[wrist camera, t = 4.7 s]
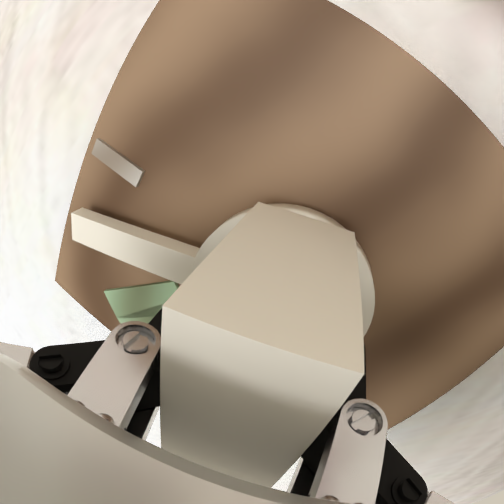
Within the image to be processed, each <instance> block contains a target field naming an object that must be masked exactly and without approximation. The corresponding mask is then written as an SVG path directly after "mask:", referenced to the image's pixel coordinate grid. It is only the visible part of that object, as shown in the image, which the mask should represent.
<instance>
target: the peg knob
mask: <svg viewBox="0 0 504 504" xmlns="http://www.w3.org/2000/svg"><path fill="white" fill-rule="evenodd" d="M71 224H72V240H74V241H76V242H79V243H81V244H83V245H86V246H88V247H90V248H93V249H95V250H97V251H100V252H102V253H104V254H107V255H109V256H111V257H114V258H116V259H119V260H121V261H123V262H126V263H128V264H131V265H133V266H136V267H138V268H141V269H143V270H146V271H148V272H151V273H153V274H156V275H158V276H161V277H163V278H166V279H168V280H171V281H174V282H176V283H179V284H181V285H180V287H179V288H178V289H177V290H176V291H175V292H174V293H173V294H172V295H171V297H170V298H169V299H168V300H167V301H166V302H165V303H164V304H163V306H162V325H161V353H160V425H161V449H163V450H166V451H168V452H170V453H172V454H174V455H177V456H179V457H181V458H184V459H186V460H189V461H191V462H194V463H196V464H199V465H201V466H204V467H206V468H209V469H212V470H214V471H217V472H220V473H223V474H226V475H229V476H232V477H235V478H238V479H241V480H244V481H247V482H251V483H254V484H258V485H261V486H265V487H269V488H271V487H272V486H273V485H274V484H275V483H276V482H277V481H278V480H279V479H280V478H281V477H282V476H283V475H284V474H285V473H286V471H287V470H288V469H289V468H290V467H291V466H292V465H293V464H294V463H295V462H296V461H297V459H298V458H299V457H300V456H301V455H302V454H303V453H304V452H305V450H306V449H307V448H308V447H309V446H310V445H311V443H312V442H313V441H314V440H315V439H316V437H317V436H318V435H319V434H320V433H321V431H322V430H323V429H324V428H325V426H326V425H327V424H328V423H329V421H330V420H331V419H332V418H333V416H334V415H335V414H336V412H337V411H338V410H339V409H340V407H341V406H342V405H343V403H344V402H345V400H346V399H347V398H348V396H349V395H350V394H351V392H352V391H353V389H354V388H355V387H356V385H357V384H358V382H359V381H360V380H361V378H362V377H363V375H364V338H363V337H364V336H365V334H366V333H367V330H368V328H369V326H370V324H371V321H372V318H373V314H374V307H375V290H374V284H373V278H372V273H371V268H370V265H369V262H368V260H367V257H366V255H365V253H364V251H363V249H362V248H361V246H360V244H359V243H358V242H357V241H356V239H355V232H352V231H349V230H346V229H345V228H344V227H343V226H342V225H341V224H339V223H338V222H337V221H335V220H334V219H332V218H330V217H329V216H327V215H325V214H323V213H321V212H318V211H316V210H313V209H311V208H308V207H304V206H299V205H294V204H285V203H276V204H264V203H261V202H258V203H257V204H256V205H255V206H254V207H252V208H249V209H246V210H244V211H241V212H239V213H237V214H235V215H234V216H232V217H231V218H229V219H228V220H226V221H225V222H224V223H223V224H222V225H221V226H220V227H218V228H217V229H216V230H215V231H214V232H213V233H212V234H211V235H210V236H209V237H208V238H207V239H206V241H205V242H204V243H203V244H202V246H201V247H200V248H198V247H195V246H192V245H189V244H186V243H183V242H181V241H178V240H175V239H172V238H169V237H166V236H163V235H160V234H157V233H154V232H151V231H148V230H145V229H143V228H140V227H137V226H134V225H131V224H128V223H125V222H122V221H119V220H117V219H114V218H111V217H108V216H105V215H102V214H99V213H97V212H94V211H91V210H88V209H85V208H80V209H78V210H76V211H74V212H72V213H71Z"/></svg>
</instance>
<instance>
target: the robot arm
mask: <svg viewBox="0 0 504 504" xmlns="http://www.w3.org/2000/svg"><path fill="white" fill-rule="evenodd" d="M161 325H162V308H161V310H160V311H159V312H158V313H157V314H156V315H155V316H154V317H153V319H152V320H151V321H150V322H149V323H148V324H147V323H145V322H140V321H128V322H124V323H122V324H120V325H118V326H116V327H115V328H114V329H113V330H112V332H111V333H110V334H109V336H108V337H107V339H106V340H103V341H94V342H85V343H75V344H65V345H54V346H47V347H43V348H41V349H39V350H38V351H37V352H34V351H33V348H30V347H24V346H18V345H12V344H7V343H2V342H0V504H454V503H453V502H451V501H449V500H448V499H446V498H444V497H443V496H441V495H439V494H438V493H436V492H434V491H432V492H430V493H429V492H428V491H427V486H426V483H425V481H424V480H423V479H422V477H421V476H420V475H419V474H418V473H417V472H416V471H415V470H414V469H413V467H412V466H411V465H410V464H409V463H408V462H407V461H406V460H405V459H404V458H403V457H402V455H401V454H400V453H399V452H398V451H397V450H396V449H395V448H394V447H393V445H392V444H391V443H390V442H389V441H388V440H387V439H386V437H387V428H388V422H387V418H386V415H385V413H384V412H383V410H382V409H381V408H380V407H379V406H378V405H377V404H375V403H374V402H372V401H370V400H366V352H365V344H364V375H363V377H362V378H361V380H360V381H359V382H358V384H357V385H356V387H355V388H354V389H353V391H352V392H351V394H350V395H349V396H348V398H347V399H346V400H345V402H344V403H343V405H342V406H341V407H340V409H339V410H338V411H337V412H336V414H335V415H334V416H333V418H332V419H331V420H330V421H329V423H328V424H327V425H326V426H325V428H324V429H323V430H322V431H321V433H320V434H319V435H318V436H317V437H316V439H315V440H314V441H313V442H312V443H311V445H310V446H309V447H308V448H307V449H306V450H305V452H304V453H303V454H302V455H301V458H300V460H299V462H298V465H297V467H296V470H295V472H294V475H293V477H292V480H291V482H290V485H289V487H288V490H287V492H284V491H280V490H276V489H272V488H269V487H265V486H261V485H258V484H254V483H251V482H247V481H244V480H241V479H238V478H235V477H232V476H229V475H226V474H223V473H220V472H217V471H214V470H212V469H209V468H206V467H204V466H201V465H199V464H196V463H194V462H191V461H189V460H186V459H184V458H181V457H179V456H177V455H174V454H172V453H170V452H168V451H166V450H163V449H161V448H159V447H157V446H155V445H153V444H151V443H149V442H147V441H145V440H146V438H147V436H148V433H149V431H150V429H151V426H152V424H153V422H154V419H155V417H156V415H157V412H158V410H159V406H160V353H161Z"/></svg>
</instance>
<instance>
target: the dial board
mask: <svg viewBox="0 0 504 504" xmlns="http://www.w3.org/2000/svg"><path fill="white" fill-rule="evenodd" d="M258 202H261V203H264V204H276V203H285V204H294V205H299V206H304V207H308V208H311V209H313V210H316V211H318V212H321V213H323V214H325V215H327V216H329V217H330V218H332V219H334V220H335V221H337V222H338V223H339V224H341V225H342V226H343V227H344V228H345V229H346V230H349V231H352V232H355V239H356V241H357V242H358V243H359V244H360V246H361V248H362V249H363V251H364V253H365V255H366V257H367V260H368V262H369V265H370V268H371V273H372V278H373V284H374V290H375V307H374V314H373V318H372V321H371V324H370V326H369V328H368V330H367V333H366V334H365V336H364V337H363V338H364V344H365V352H366V400H370V401H372V402H374V403H375V404H377V405H378V406H379V407H380V408H381V409H382V410H383V412H384V413H385V415H386V418H387V422H388V428H387V430H388V429H390V428H391V427H393V426H395V425H397V424H398V423H400V422H402V421H404V420H405V419H407V418H409V417H410V416H412V415H413V414H415V413H417V412H418V411H420V410H421V409H423V408H424V407H426V406H428V405H429V404H431V403H432V402H434V401H435V400H436V399H438V398H439V397H441V396H442V395H444V394H445V393H447V392H448V391H449V390H451V389H452V388H453V387H455V386H456V385H457V384H459V383H460V382H461V381H463V380H464V379H465V378H467V377H468V376H469V375H471V374H472V373H473V372H474V371H476V370H477V369H478V368H479V367H480V366H482V365H483V364H484V363H485V362H486V361H488V360H489V359H490V358H491V357H492V356H493V355H495V354H496V353H497V352H498V351H499V350H500V349H501V348H502V347H503V346H504V147H503V146H502V145H501V143H500V142H499V141H498V140H497V139H496V137H495V136H494V135H493V134H492V133H491V131H490V130H489V129H488V128H487V127H486V126H485V125H484V123H483V122H482V121H481V120H480V119H479V118H478V117H477V116H476V115H475V114H474V113H473V112H472V110H471V109H470V108H469V107H468V106H467V105H466V104H465V103H464V102H463V101H462V100H461V99H460V98H459V97H458V96H457V95H456V94H455V93H454V92H453V91H452V90H451V89H449V88H448V87H447V86H446V85H445V84H444V83H443V82H442V81H441V80H440V79H439V78H437V77H436V76H435V75H434V74H433V73H432V72H431V71H429V70H428V69H427V68H426V67H425V66H424V65H422V64H421V63H420V62H419V61H417V60H416V59H415V58H414V57H412V56H411V55H410V54H409V53H407V52H406V51H405V50H403V49H402V48H401V47H400V46H398V45H397V44H395V43H394V42H393V41H391V40H390V39H389V38H387V37H386V36H384V35H383V34H381V33H380V32H379V31H377V30H376V29H374V28H373V27H371V26H370V25H368V24H366V23H365V22H363V21H362V20H360V19H359V18H357V17H355V16H354V15H352V14H350V13H349V12H347V11H345V10H344V9H342V8H340V7H338V6H337V5H335V4H333V3H331V2H329V1H327V0H159V2H158V3H157V5H156V7H155V8H154V10H153V11H152V13H151V15H150V16H149V18H148V20H147V21H146V23H145V25H144V26H143V28H142V30H141V31H140V33H139V35H138V37H137V39H136V40H135V42H134V44H133V46H132V48H131V50H130V51H129V53H128V55H127V57H126V59H125V61H124V63H123V65H122V67H121V69H120V71H119V73H118V75H117V77H116V80H115V82H114V84H113V86H112V88H111V90H110V93H109V95H108V97H107V100H106V102H105V104H104V107H103V109H102V111H101V114H100V116H99V119H98V121H97V124H96V127H95V129H94V132H93V135H92V137H91V140H90V143H89V146H88V149H87V151H86V154H85V157H84V160H83V163H82V167H81V170H80V173H79V176H78V180H77V183H76V186H75V190H74V194H73V197H72V201H71V205H70V209H69V213H68V217H67V221H66V225H65V230H64V234H63V239H62V244H61V249H60V254H59V260H58V265H57V271H56V278H55V281H56V282H57V283H58V284H59V285H60V286H61V287H62V288H63V289H64V290H65V291H66V292H67V293H68V294H70V295H71V296H72V297H73V298H74V299H75V300H76V301H77V302H78V303H79V304H80V305H81V306H83V307H84V308H85V309H86V310H87V311H88V312H89V313H90V314H92V315H93V316H94V317H95V318H96V319H97V320H99V321H100V322H101V323H102V324H103V325H104V326H106V327H107V328H108V329H109V330H110V331H112V330H113V329H114V328H115V327H116V326H118V325H120V324H122V323H124V322H128V321H140V322H145V323H147V324H148V323H149V322H150V321H151V320H152V319H153V317H154V316H155V315H156V314H157V313H158V312H159V311H160V310H161V308H162V306H163V304H164V303H165V302H166V301H167V300H168V299H169V298H170V297H171V295H172V294H173V293H174V292H175V291H176V290H177V289H178V288H179V287H180V285H181V284H179V283H176V282H174V281H171V280H168V279H166V278H163V277H161V276H158V275H156V274H153V273H151V272H148V271H146V270H143V269H141V268H138V267H136V266H133V265H131V264H128V263H126V262H123V261H121V260H119V259H116V258H114V257H111V256H109V255H107V254H104V253H102V252H100V251H97V250H95V249H93V248H90V247H88V246H86V245H83V244H81V243H79V242H76V241H74V240H72V224H71V213H72V212H74V211H76V210H78V209H80V208H85V209H88V210H91V211H94V212H97V213H99V214H102V215H105V216H108V217H111V218H114V219H117V220H119V221H122V222H125V223H128V224H131V225H134V226H137V227H140V228H143V229H145V230H148V231H151V232H154V233H157V234H160V235H163V236H166V237H169V238H172V239H175V240H178V241H181V242H183V243H186V244H189V245H192V246H195V247H198V248H200V247H201V246H202V244H203V243H204V242H205V241H206V239H207V238H208V237H209V236H210V235H211V234H212V233H213V232H214V231H215V230H216V229H217V228H218V227H220V226H221V225H222V224H223V223H224V222H225V221H226V220H228V219H229V218H231V217H232V216H234V215H235V214H237V213H239V212H241V211H244V210H246V209H249V208H252V207H254V206H255V205H256V204H257V203H258Z"/></svg>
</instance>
